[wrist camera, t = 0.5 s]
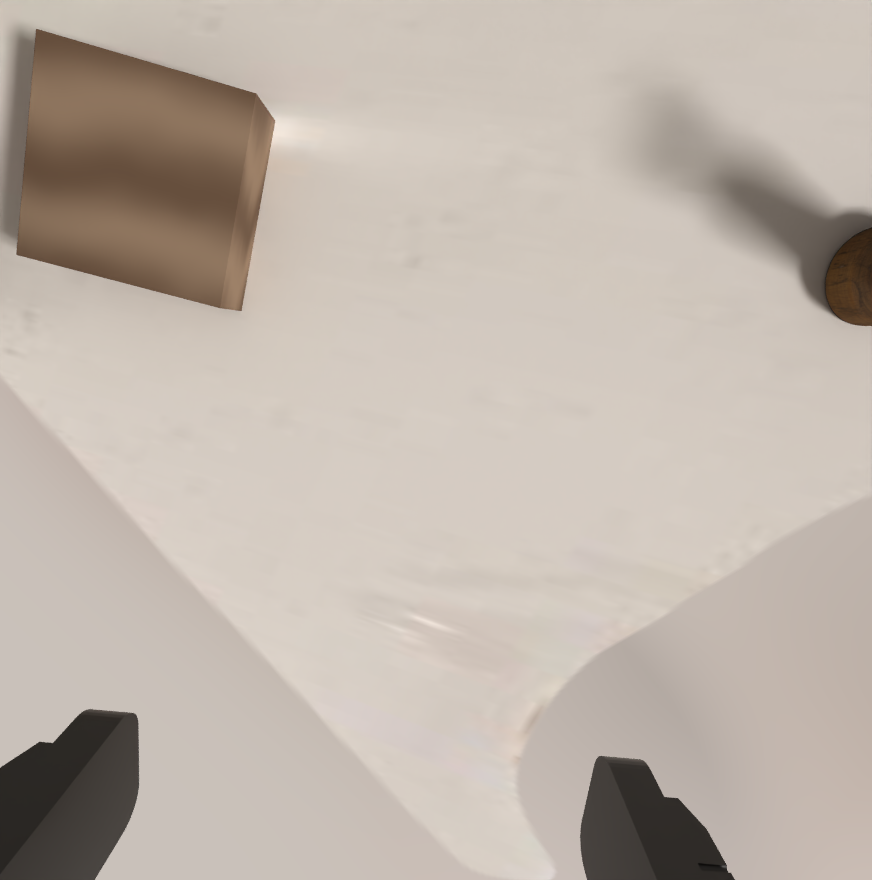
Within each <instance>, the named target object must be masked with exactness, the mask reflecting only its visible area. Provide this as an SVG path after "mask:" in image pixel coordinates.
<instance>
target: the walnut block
mask: <svg viewBox="0 0 872 880" xmlns="http://www.w3.org/2000/svg"><path fill="white" fill-rule="evenodd" d="M274 124H275V120H274V118H273V117H272V116H271V114H270V113H269V111H268V110H267V108H266V107H265V105H264V104H263V103H262V101H261V100H260V98H259V97H258V95H257V94H256V93H252V92H249V91H246V90H242V89H239V88H235V87H232V86H229V85H225V84H222V83H218V82H215V81H212V80H208V79H205V78H201V77H198V76H195V75H191V74H188V73H184V72H181V71H178V70H174V69H171V68H168V67H164V66H161V65H157V64H154V63H151V62H147V61H144V60H140V59H137V58H134V57H130V56H127V55H123V54H120V53H117V52H113V51H110V50H106V49H103V48H100V47H96V46H93V45H89V44H86V43H83V42H79V41H76V40H72V39H69V38H66V37H62V36H59V35H55V34H52V33H49V32H45V31H42V30H38V29H36V38H35V50H34V61H33V72H32V83H31V95H30V106H29V117H28V129H27V140H26V151H25V163H24V174H23V185H22V197H21V208H20V219H19V231H18V242H17V253H16V255H19V256H23V257H27V258H31V259H35V260H39V261H42V262H46V263H50V264H54V265H58V266H61V267H65V268H69V269H73V270H77V271H81V272H84V273H88V274H92V275H96V276H100V277H103V278H107V279H111V280H115V281H119V282H123V283H126V284H130V285H134V286H138V287H142V288H145V289H149V290H153V291H157V292H161V293H165V294H168V295H172V296H176V297H180V298H184V299H187V300H191V301H195V302H199V303H203V304H207V305H210V306H214V307H218V308H223V309H231V310H238V311H241V310H242V305H243V299H244V293H245V288H246V282H247V276H248V271H249V265H250V260H251V254H252V248H253V243H254V237H255V231H256V226H257V220H258V215H259V209H260V203H261V198H262V192H263V186H264V181H265V175H266V170H267V164H268V158H269V153H270V147H271V141H272V136H273V130H274Z"/></svg>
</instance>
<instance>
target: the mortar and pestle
mask: <svg viewBox="0 0 872 880" xmlns="http://www.w3.org/2000/svg"><path fill="white" fill-rule="evenodd" d="M826 296H827V300H828V302H829V305H830V307H831V309H832V310H833V312H834V313H835V314H836V315H837V316H838V317H839V318H840V319H842V320H844V321H846V322H848V323H851V324H854V325H860V326H872V228H870V229H867V230H864V231H862V232H860V233H859V234H857V235H855V236H854V237H852V238H851V239H849V240H848V241H847V242H846V243H845V244H844V245H843V246H842V247H841V248H840V249H839V251H838V252H837V253H836V255H835V256H834V258H833V260H832V262H831V264H830V266H829V269H828V272H827V276H826Z"/></svg>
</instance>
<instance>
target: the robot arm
mask: <svg viewBox="0 0 872 880" xmlns="http://www.w3.org/2000/svg"><path fill="white" fill-rule="evenodd" d="M138 741H139V740H138V718H137V716H136V714H134V713H127V712H115V711H103V710H93V709H89V710H85V711H83V712H82V713H81V714H79V716H77V717H76V718H75V720H74V721H73V722H72V723H71V724H70V725H69V726H68V727H67V728H66V729H65V731H64V732H63V733H62V734H61V735H60V736H59V737H58V738H57V739H56V741H54V743H45V742H39V743H37V744H36V745H34V746H33V747H31V748H30V749H28V750H27V751H25V752H23V753H22V754H20V755H19V756H17V757H16V758H14V759H13V760H11V761H10V762H8V763H7V764H5V765H4V766H2V767H1V768H0V880H95V878H96V877H97V875H98V873H99V871H100V870H101V868H102V866H103V865H104V863H105V862H106V860H107V858H108V857H109V855H110V853H111V852H112V850H113V849H114V847H115V845H116V844H117V842H118V840H119V838H120V837H121V835H122V834H123V832H124V830H125V828H126V826H127V824H128V822H129V820H130V818H131V815H132V812H133V810H134V806H135V803H136V799H137V795H138V788H139V750H138V749H139V747H138V746H139V744H138V743H139V742H138ZM580 838H581V853H582V860H583V865H584V870H585V873H586V877H587V880H735V879H734V878H733V876H732V874H731V873H728V871H727V865H726V863H725V861H724V860H723V858H722V856H721V854H720V852H719V851H718V849H717V847H716V845H715V843H714V842H713V840H712V838H711V837H710V835H709V833H708V831H707V829H706V828H705V827H704V826H703V825H702V824H701V823H700V822H699V821H698V819H697V818H696V817H695V816H694V815H693V814H692V813H691V812H690V811H689V810H688V809H687V808H686V807H685V805H684V804H683V803H682V802H681V801H680V800H679V799H678V798H667V797H664V796H663V794H662V792H661V790H660V788H659V786H658V784H657V782H656V780H655V778H654V776H653V774H652V772H651V770H650V769H649V767H648V765H647V764H646V763H645V762H644V761H643V760H640V759H639V760H638V759H629V758H617V757H605V756H599V757H598V758H597V759H596V762H595V765H594V769H593V773H592V778H591V782H590V787H589V791H588V796H587V800H586V805H585V810H584V814H583V818H582V823H581V835H580Z"/></svg>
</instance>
